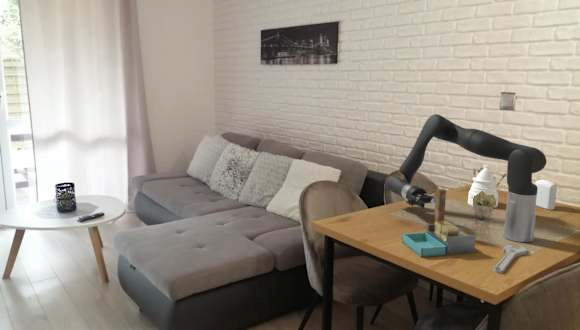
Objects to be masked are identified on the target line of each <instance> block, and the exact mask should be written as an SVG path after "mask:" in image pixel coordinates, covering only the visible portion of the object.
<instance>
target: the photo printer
mask: <svg viewBox="0 0 580 330" xmlns="http://www.w3.org/2000/svg"><path fill="white" fill-rule="evenodd" d="M534 184H535V185H536V186H537V188H538V190H537V198H536V206H537V207H540V208H542V209H545V210H549V211H552V210H554V209H555V208H556V199H557V190H558V186H557V185H556V184H555V183H554V182H552V181H550V180H546V179H538V180H536V181H535V182H534Z"/></svg>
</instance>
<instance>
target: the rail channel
mask: <svg viewBox="0 0 580 330" xmlns="http://www.w3.org/2000/svg"><path fill="white" fill-rule="evenodd" d="M450 223H451V224H453V225H455V223H454V222H450ZM434 231H435V224H434V223H427V224H426V231H425V232H426V233H427V234H429V235H430V236H432V237H433V238H435V239H436V240H438V241H439V242H441V243H442V244H444V245H445V246H447V250H446V255H445V256H452V255H462V254H463V255H464V254H474V253H475V247H476V235H475V234H467V235H465V234H463V233H461V232H460V231H459V235H458V236H450V237H447V239H445V238H443V237H442V236H440V235H438V234H437V233H435V232H434Z"/></svg>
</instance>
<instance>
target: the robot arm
mask: <svg viewBox="0 0 580 330" xmlns="http://www.w3.org/2000/svg"><path fill="white" fill-rule="evenodd" d="M433 138H435V139H437V140H440V141H444V142H449V143H452V144H456V145H458V146H459V147H461V148H462V149H465V150H466V151H468V152H470V153H473V154H475V155H478V156H480V157H484V158H489V159H495V160H502V161H507V167H506V168H507V170H506V183H507V184H506V185H507V186H508V189H507V198H506V209H505V210H506V211H505V217H504V218H505V220H504V227H503V229H504V230H503V237H504V238H505V239H506V240H507V239H508V240H510V241H514V242H519V243H528V242H534V237H535V228H536V220H537V216H536V214H535V213H536V206H537V205H536V198H537V190H538V188H537V186H536V185H535V183H533V182H532V178H533V174H535V173H538V172H540V171H542V170H543V169H545V167H546V165H547V158H546V155H545V154H544V152H542V151H541V150H540V149H539V148H537V147H532V146H528V145H523V144H519V143H516V142H512V141H509V140H507V139H505V138H502V137H500V136H497V135H494V134H492V133H489V132H487V131H484V130H481V129H480V130H479V129H477V128H464V127H463V126H460V125H458V124H456V123H454V122H452V121H451V120H449V119H448V118H445V117H444V116H443V115H440V114H432V115H430V116H429V117H428V118H427V119H426V121H425V122H424V124H423V126H422V128H421V131H420V133H419V135H418V136H417V138H416V141H415V143H414V144H413V147H412V148H411V150H410V152H409V154H408V155H407V156H406V158H405V159H404V161H403V162H402V164H401V165H400V167H399V169H398V170H399V172H400V173H401V175H402V176H403V179H401V178H400V177H398V176H397V175H390V176H388V177H387V178H386V179H385V181H384V186H385V189H387V191H390V192H392V193H394V194H395V195H397V196H399V197H401V198H402V199H404V200H405V203H406V204H408V205H410V206H411V207H413V206H416V207H420V208H422V209H424V208H425V207H426V206H425V205H433V206H435V202H436V193H435V194H433V195H432V194H429V193H428V192H427V190H426V189H424V188H422V187H420V186H418V185H417V184H412V182H413V181H412V180H413V178H414V176H415V175H416V173H418V172H417V171H418V170H419V169H420V168H421V166H422V164H423V162H424V160H425V156H426V155H425V154H426V150H427V148H428V145H429V144H430V141H431V140H432V139H433Z"/></svg>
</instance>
